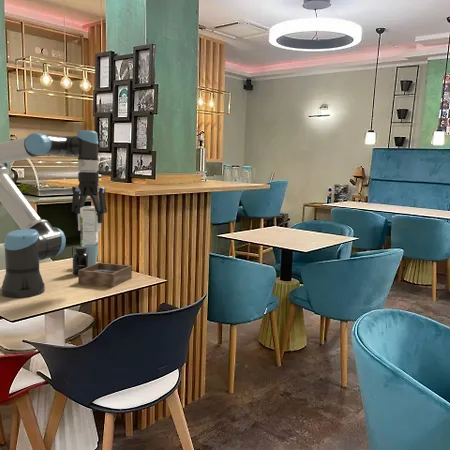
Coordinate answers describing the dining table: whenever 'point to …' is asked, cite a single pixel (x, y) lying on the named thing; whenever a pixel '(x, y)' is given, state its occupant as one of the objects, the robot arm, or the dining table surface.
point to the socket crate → (105, 274)
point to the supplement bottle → (80, 259)
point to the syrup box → (88, 226)
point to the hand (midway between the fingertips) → (89, 230)
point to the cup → (92, 253)
